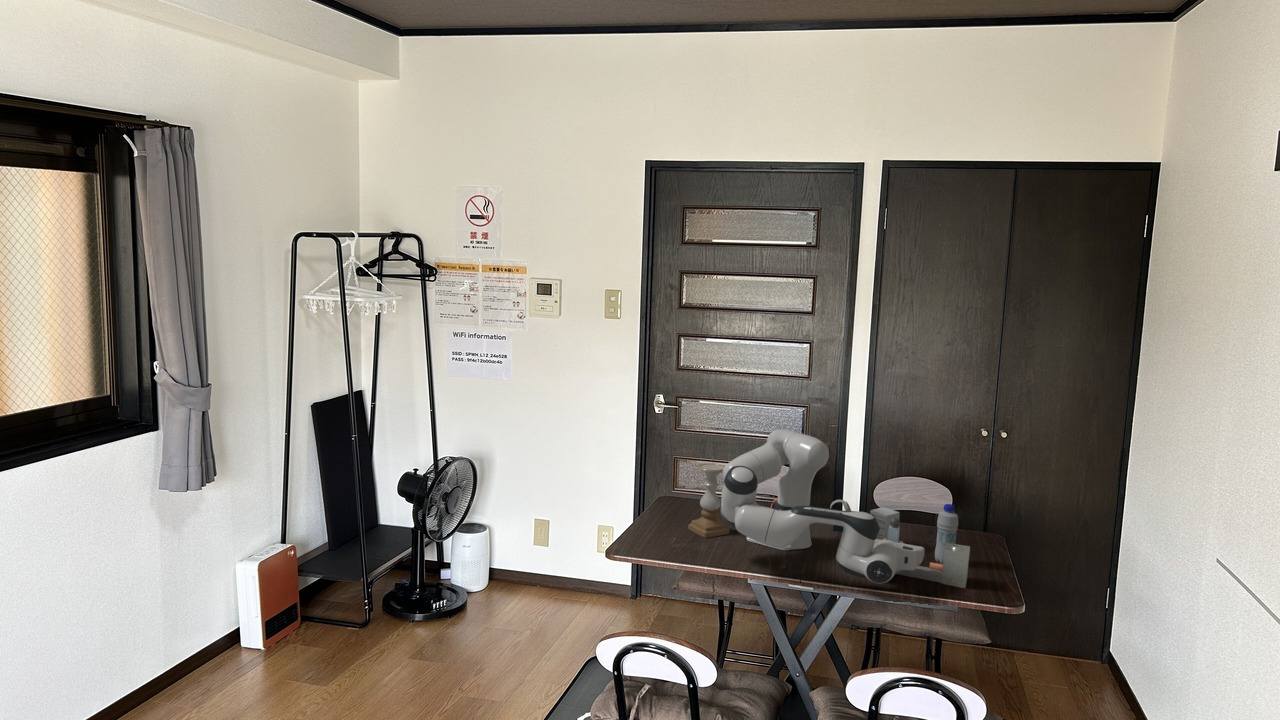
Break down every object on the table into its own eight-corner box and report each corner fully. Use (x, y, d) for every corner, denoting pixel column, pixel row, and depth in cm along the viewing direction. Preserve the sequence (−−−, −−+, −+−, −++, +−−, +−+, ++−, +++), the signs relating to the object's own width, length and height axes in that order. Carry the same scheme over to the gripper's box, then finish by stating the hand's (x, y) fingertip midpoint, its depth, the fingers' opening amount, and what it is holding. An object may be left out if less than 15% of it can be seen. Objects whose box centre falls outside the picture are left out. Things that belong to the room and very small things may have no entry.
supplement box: (880, 541, 302) (883, 506, 300) (897, 547, 296) (900, 512, 295) (866, 544, 298) (869, 509, 296) (884, 551, 292) (887, 515, 290)
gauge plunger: (929, 569, 267) (929, 563, 266) (929, 567, 268) (930, 561, 268) (952, 573, 264) (953, 567, 263) (953, 571, 266) (953, 565, 265)
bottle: (937, 557, 288) (942, 500, 285) (957, 562, 283) (963, 504, 281) (930, 562, 282) (935, 504, 280) (950, 567, 278) (956, 508, 276)
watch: (850, 533, 309) (852, 503, 308) (828, 530, 311) (830, 501, 310) (850, 528, 315) (852, 499, 313) (828, 525, 317) (830, 497, 315)
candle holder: (704, 538, 297) (708, 471, 294) (687, 528, 306) (690, 464, 303) (730, 534, 303) (733, 468, 300) (712, 525, 312) (715, 461, 309)
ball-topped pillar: (879, 570, 271) (883, 518, 269) (882, 564, 277) (886, 513, 274) (905, 575, 268) (910, 523, 266) (908, 569, 273) (912, 517, 271)
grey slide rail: (865, 570, 273) (868, 535, 272) (870, 562, 280) (872, 528, 279) (965, 588, 261) (968, 553, 259) (966, 580, 268) (970, 545, 266)
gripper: (851, 559, 264) (859, 545, 277) (920, 571, 256) (925, 557, 269) (853, 539, 264) (861, 527, 276) (922, 551, 255) (927, 538, 268)
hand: (893, 542), depth 272 cm, fingers closed on ball-topped pillar, 3 cm apart
